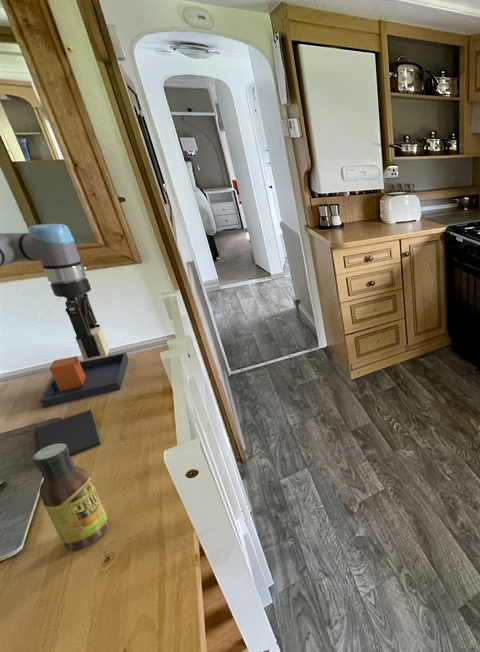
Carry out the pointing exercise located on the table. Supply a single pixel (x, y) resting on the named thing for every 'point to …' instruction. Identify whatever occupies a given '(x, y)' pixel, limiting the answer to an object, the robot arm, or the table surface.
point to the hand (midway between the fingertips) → (96, 352)
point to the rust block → (68, 373)
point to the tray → (90, 380)
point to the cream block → (99, 341)
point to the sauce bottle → (70, 498)
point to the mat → (70, 433)
